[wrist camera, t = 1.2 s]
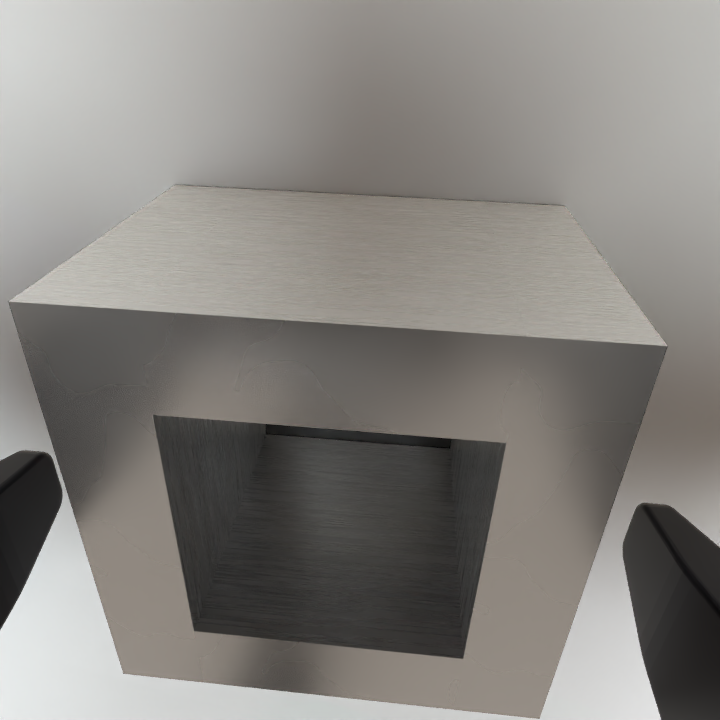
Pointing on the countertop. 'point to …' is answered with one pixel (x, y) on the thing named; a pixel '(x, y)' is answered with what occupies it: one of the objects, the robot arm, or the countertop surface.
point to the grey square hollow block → (340, 457)
